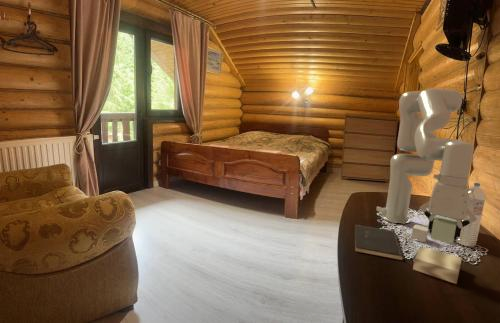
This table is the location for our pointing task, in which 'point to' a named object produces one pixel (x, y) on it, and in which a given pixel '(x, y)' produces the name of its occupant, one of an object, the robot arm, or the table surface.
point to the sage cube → (443, 229)
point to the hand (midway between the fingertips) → (443, 234)
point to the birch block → (437, 264)
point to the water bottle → (476, 206)
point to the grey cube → (420, 233)
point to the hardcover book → (377, 242)
